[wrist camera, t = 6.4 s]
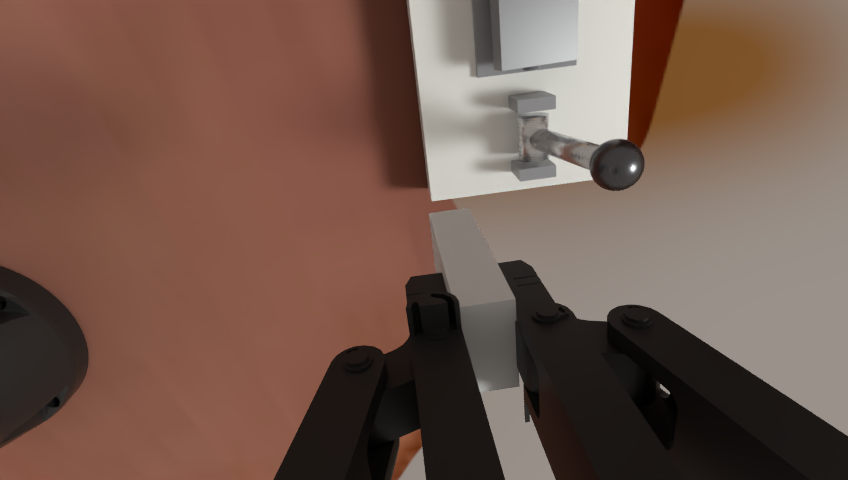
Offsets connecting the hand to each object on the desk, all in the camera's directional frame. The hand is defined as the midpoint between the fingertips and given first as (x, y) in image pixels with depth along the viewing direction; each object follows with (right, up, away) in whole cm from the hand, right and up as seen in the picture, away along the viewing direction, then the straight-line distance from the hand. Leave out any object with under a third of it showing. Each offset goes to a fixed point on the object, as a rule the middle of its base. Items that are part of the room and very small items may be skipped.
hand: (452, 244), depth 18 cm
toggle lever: (+6, +7, +14) cm, 17 cm away
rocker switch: (+5, +13, +11) cm, 18 cm away
